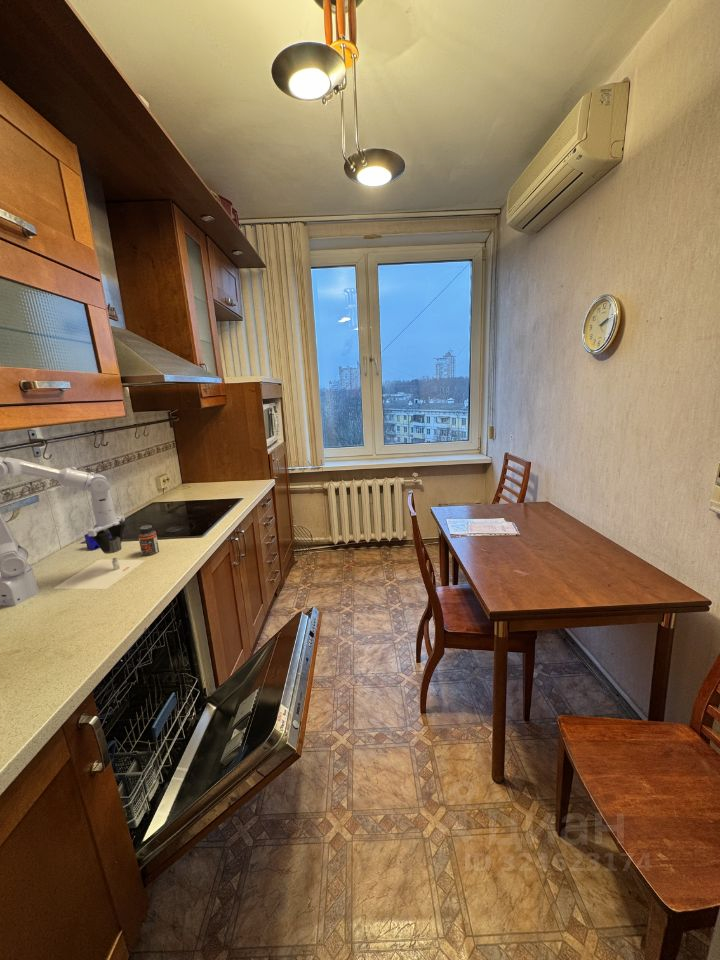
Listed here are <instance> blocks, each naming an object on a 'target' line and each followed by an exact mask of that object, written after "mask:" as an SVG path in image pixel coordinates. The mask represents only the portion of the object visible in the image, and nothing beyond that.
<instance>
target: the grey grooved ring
mask: <svg viewBox="0 0 720 960" xmlns="http://www.w3.org/2000/svg"><path fill="white" fill-rule="evenodd" d="M109 546H110V551H109V552H103V553H104V554H114V553H115V554H116V553H117V552H119V551H121V550H122V549H123V548H122V542H120V537H109Z"/></svg>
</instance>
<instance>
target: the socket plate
mask: <svg viewBox="0 0 720 960" xmlns="http://www.w3.org/2000/svg"><path fill="white" fill-rule="evenodd" d="M145 561H146V559H118V558H117V557H114V558H112V559H98V560H96V561H95V562H93V563H92V564H90V565H88V566H86V567H85V568H83V569H82V570H80V571H79V572H77V573H76V574H74V575H73V576H71V577H69V578H67V579H66V580H64V581H62V582H61V583H59V584H58V585H56V586H54V587H53V589H56V590H57V589H58V590H60V589H63V590H64V589H66V590H107V589H109V588H110V587H111V586H113V585H114V584H116V582H118V581H119V580H121V579H122V578H124V576H126V575H127V574H129V573H130V572H131V571H133V570H134V569H136V568H137V567H139V565H141V564H142V563H144V562H145Z"/></svg>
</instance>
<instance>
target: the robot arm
mask: <svg viewBox="0 0 720 960" xmlns="http://www.w3.org/2000/svg"><path fill="white" fill-rule="evenodd" d="M8 474H9V477H10V478H12V477H16V476H20V475H27V476H32V477H33V476H34V477H39V478H44V479H50V480H56V481H57V482H58V484H59V485H60V486H62V487H63V486H64V487H69V488H72V489H77V490H82V491H86V490H89V493H90V496H91V498H90V501H91V506H92V510H93V515H94V519H95V525H93V526H92V527H91V528H89V529H88V530H87V534H88V535H89V536H91V537H92V538H93V539H94V540H95V541H96V542H97V543H98V545H99V546H100V548H99V549H100V550H101V551H102V552H103V553H104V552H109V551H110V546H109V535H110V533H111V535H112V537H120V542H121V543H122V540H123V533H124V530H125V527H126V522H124V521H126V519H125V515H124V514H123V515H122V514H120V515H116V511H115V506H114V502H113V498H112V495H111V490H110V489H111V483H110V482H109V480H108V478H107V477H106V476H104V475H102V474H100V473H95V472H93V471H90V472H86V471H82V470H78V468H77V467H75V466H71V467H65V468H62V469H57V468H53V467H49V466H46V465H42V464H38V463H35V462H30V461H26V460H23V459H18V458H14V457H3V456H1V455H0V482H1V481H3V479H5V478H6V476H7V475H8ZM107 529H108V531H109V532H106V530H107ZM28 558H29V552H28V550H27V549H26V548H24V547H23V546H22V545H21V544H20V543H19V541H18V540H17V539H16V538H15V536H14V534H13V533H12V530H11V528H10V526H9V524H8V523H7V520H6V519H5V517H4V515H3V512H2V511H1V510H0V606H11V607H12V606H13V607H14V606H15V607H17V605H19V604H21V603H23V602H24V601H26V600H28V599H30V598H32V597H35V596H36V595H38V593H39V591H40V589H39V587H38V583H37V579H36V575H35V571H34V568H33V565H32V564H30V563H29V562H28Z"/></svg>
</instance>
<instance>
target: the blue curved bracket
mask: <svg viewBox="0 0 720 960" xmlns="http://www.w3.org/2000/svg"><path fill="white" fill-rule="evenodd" d="M109 533H110V532H109ZM83 536H84V539H85V544H86V547H87V549H89V550H91V551H96V550H98V549H101V548H100V546H99V545H98V543H97V542H96V541H95V540H94V539H93V538H92V537H91V536H89V535H88V533H86V534H84V535H83ZM109 537H112V535H111V533H110V535H109Z"/></svg>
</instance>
